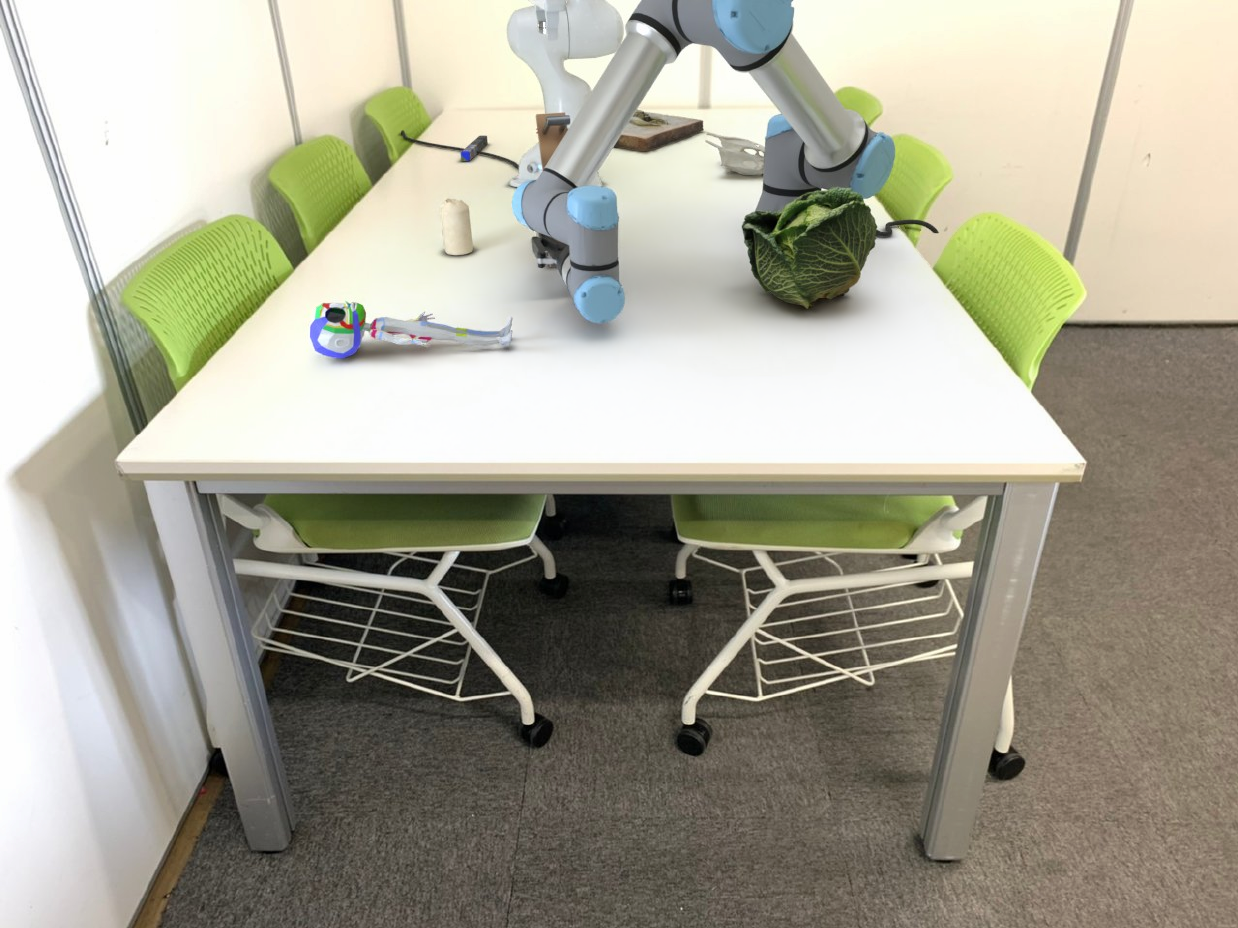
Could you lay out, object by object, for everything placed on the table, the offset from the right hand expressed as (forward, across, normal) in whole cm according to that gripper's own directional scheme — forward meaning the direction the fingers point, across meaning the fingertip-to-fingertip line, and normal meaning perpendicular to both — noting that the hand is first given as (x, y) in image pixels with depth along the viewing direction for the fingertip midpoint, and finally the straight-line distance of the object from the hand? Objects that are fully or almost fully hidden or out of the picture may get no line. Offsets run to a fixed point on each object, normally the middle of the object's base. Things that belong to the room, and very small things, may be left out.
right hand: (559, 228), depth 168 cm
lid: (0, 0, +12) cm, 12 cm away
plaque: (+98, +39, -6) cm, 105 cm away
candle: (+10, -18, -6) cm, 22 cm away
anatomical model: (+49, +58, -6) cm, 76 cm away
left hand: (+2, 0, +32) cm, 32 cm away
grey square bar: (+91, -8, -6) cm, 91 cm away
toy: (-34, -29, -6) cm, 45 cm away
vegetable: (-31, +37, -6) cm, 48 cm away
